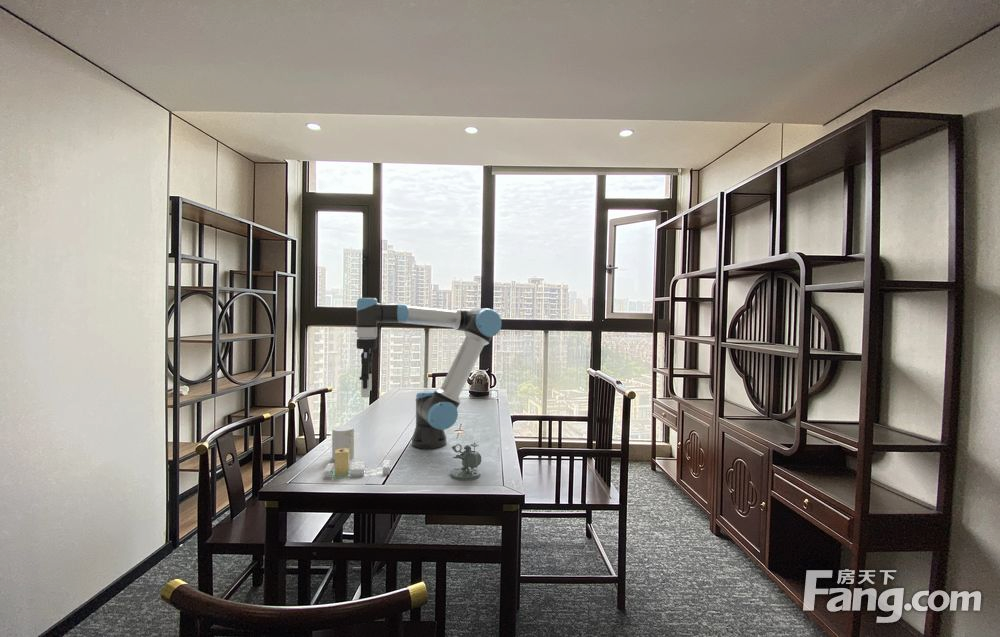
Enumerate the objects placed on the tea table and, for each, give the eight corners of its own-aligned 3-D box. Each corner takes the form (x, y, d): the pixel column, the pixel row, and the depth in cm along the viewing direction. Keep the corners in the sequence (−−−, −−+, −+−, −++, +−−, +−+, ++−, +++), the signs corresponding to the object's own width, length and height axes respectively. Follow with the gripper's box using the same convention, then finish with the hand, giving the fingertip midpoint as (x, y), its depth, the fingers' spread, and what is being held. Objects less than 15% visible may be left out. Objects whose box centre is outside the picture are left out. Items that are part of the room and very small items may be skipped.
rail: (390, 467, 169) (390, 459, 169) (389, 475, 161) (389, 467, 161) (327, 471, 164) (327, 463, 164) (324, 479, 156) (324, 471, 156)
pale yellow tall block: (349, 470, 164) (349, 447, 164) (348, 474, 159) (348, 451, 159) (336, 470, 163) (336, 448, 163) (334, 475, 159) (334, 452, 158)
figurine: (462, 467, 169) (462, 436, 169) (486, 473, 164) (486, 440, 163) (444, 476, 160) (445, 443, 160) (469, 483, 155) (470, 448, 154)
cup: (347, 462, 173) (347, 431, 173) (328, 460, 175) (328, 430, 175) (357, 455, 181) (357, 426, 181) (339, 454, 183) (339, 424, 183)
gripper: (359, 336, 184) (359, 387, 184) (353, 340, 159) (352, 400, 160) (378, 336, 185) (378, 387, 186) (375, 340, 161) (374, 399, 161)
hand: (366, 393), depth 173 cm, fingers open, 13 cm apart
